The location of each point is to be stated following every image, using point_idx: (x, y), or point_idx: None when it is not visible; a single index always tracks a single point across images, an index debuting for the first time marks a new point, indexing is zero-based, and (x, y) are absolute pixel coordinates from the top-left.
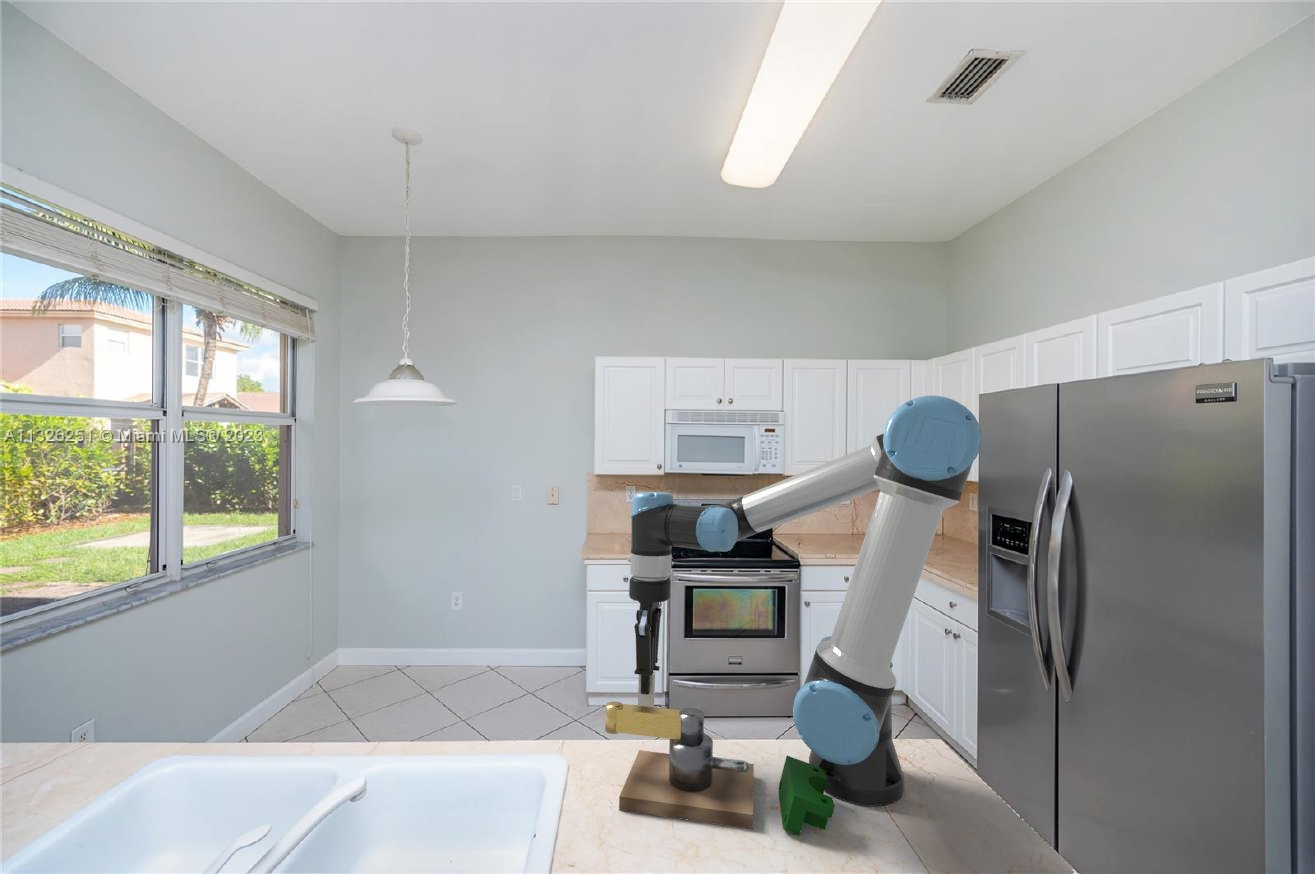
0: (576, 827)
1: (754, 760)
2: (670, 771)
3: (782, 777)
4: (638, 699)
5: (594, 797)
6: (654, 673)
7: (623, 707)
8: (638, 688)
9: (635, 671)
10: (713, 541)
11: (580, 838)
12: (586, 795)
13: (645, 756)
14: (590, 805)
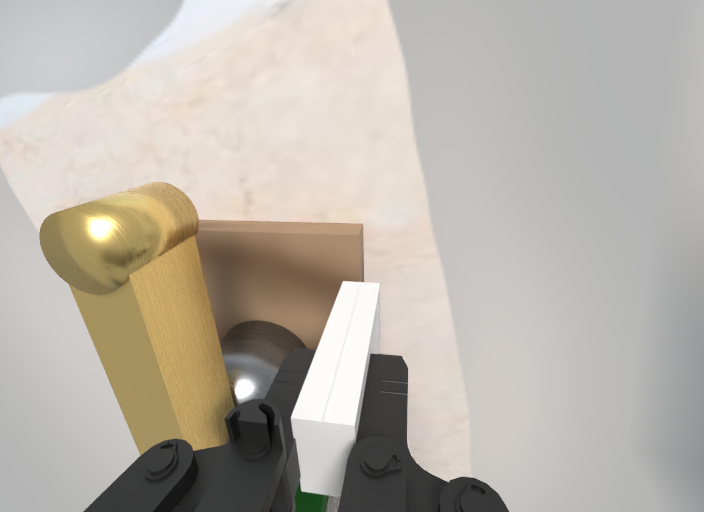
0: (75, 145)
1: (428, 450)
2: (225, 340)
3: (310, 500)
4: (332, 310)
5: (179, 150)
6: (330, 495)
7: (100, 297)
8: (320, 343)
9: (229, 425)
10: None
11: (56, 165)
12: (176, 127)
13: (328, 257)
14: (149, 151)
